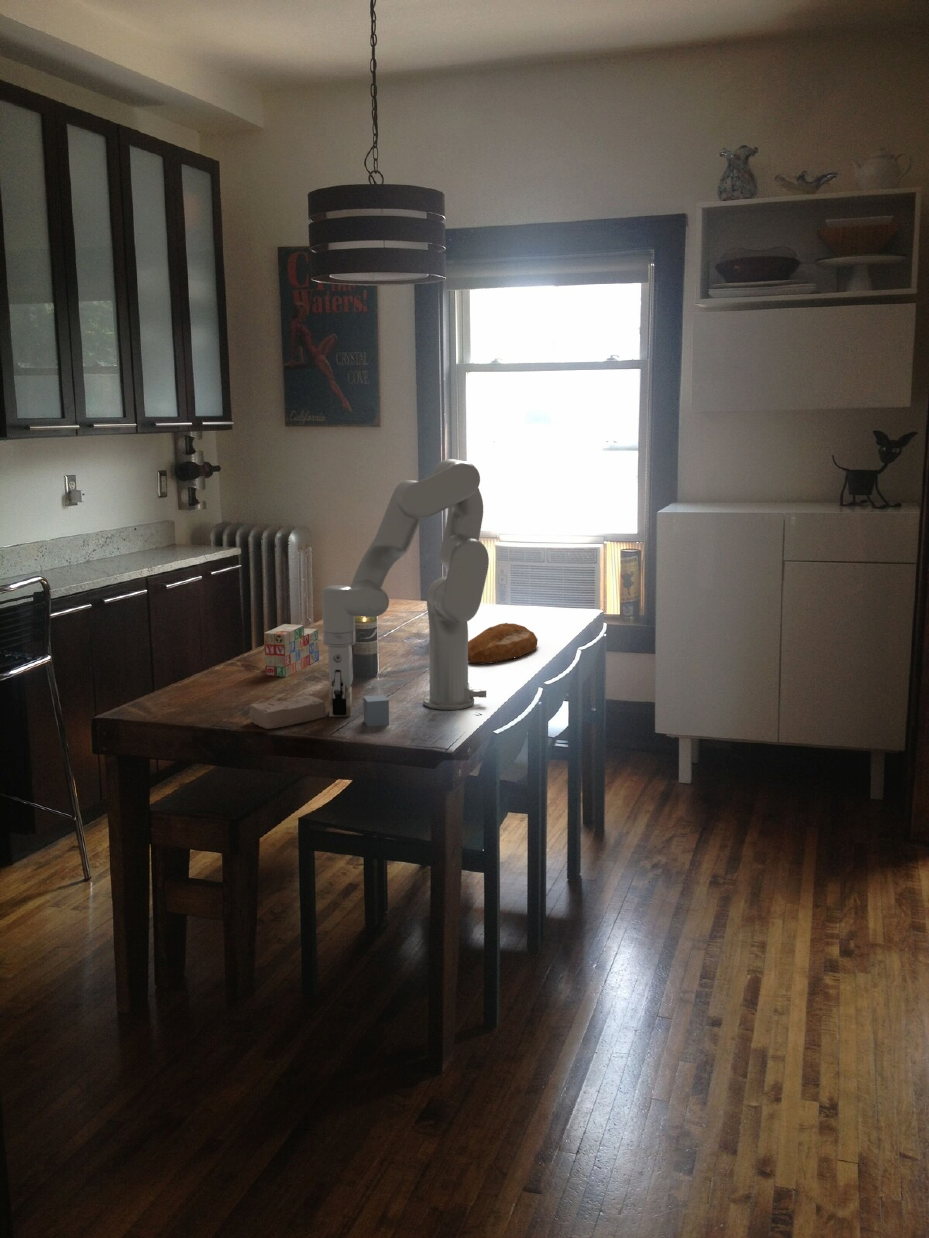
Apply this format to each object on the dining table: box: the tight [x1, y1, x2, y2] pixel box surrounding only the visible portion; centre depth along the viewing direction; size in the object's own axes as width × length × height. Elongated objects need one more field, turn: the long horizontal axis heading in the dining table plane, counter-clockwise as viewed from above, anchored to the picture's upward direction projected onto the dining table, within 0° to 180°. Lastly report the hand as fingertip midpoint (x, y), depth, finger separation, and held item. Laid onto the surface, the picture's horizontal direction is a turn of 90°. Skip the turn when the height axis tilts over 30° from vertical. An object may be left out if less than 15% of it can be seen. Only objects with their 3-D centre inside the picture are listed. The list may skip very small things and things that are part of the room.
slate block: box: [362, 694, 390, 728], centre depth 256 cm, size 5×5×6 cm
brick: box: [249, 694, 327, 730], centre depth 259 cm, size 17×8×5 cm, turn 130°
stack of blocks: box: [263, 623, 320, 678], centre depth 309 cm, size 21×6×12 cm, turn 162°
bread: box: [468, 622, 539, 664], centre depth 326 cm, size 18×35×9 cm, turn 148°
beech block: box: [328, 686, 353, 718], centre depth 264 cm, size 5×5×6 cm
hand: (340, 710), depth 264 cm, fingers open, 5 cm apart
